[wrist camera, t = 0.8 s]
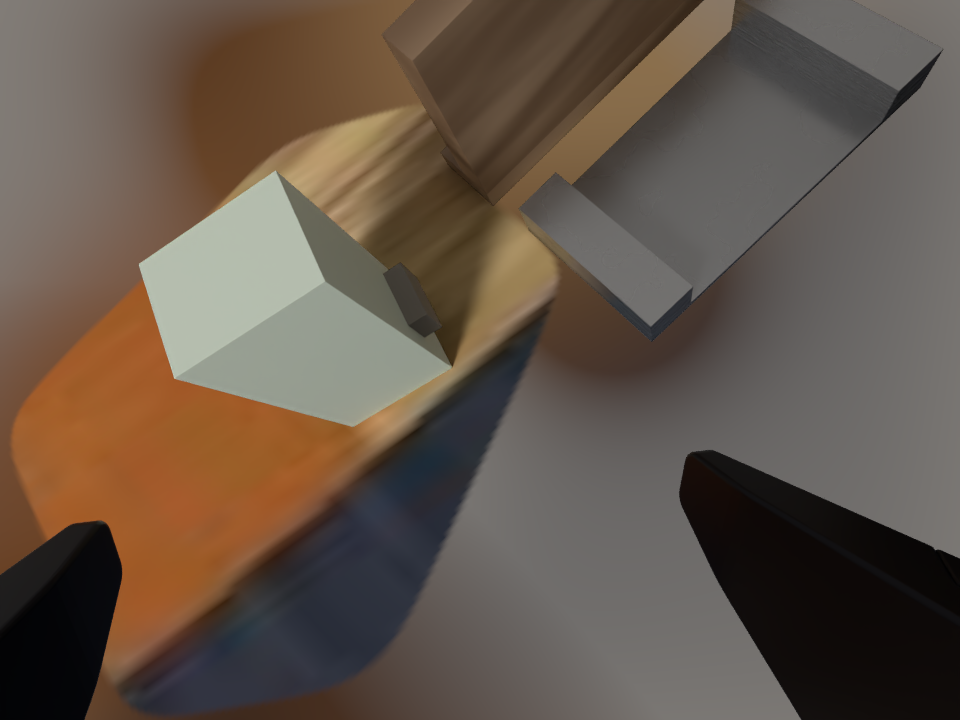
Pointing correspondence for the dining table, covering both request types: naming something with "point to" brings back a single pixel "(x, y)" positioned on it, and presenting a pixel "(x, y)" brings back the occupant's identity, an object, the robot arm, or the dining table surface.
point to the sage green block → (291, 310)
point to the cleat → (728, 152)
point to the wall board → (520, 72)
